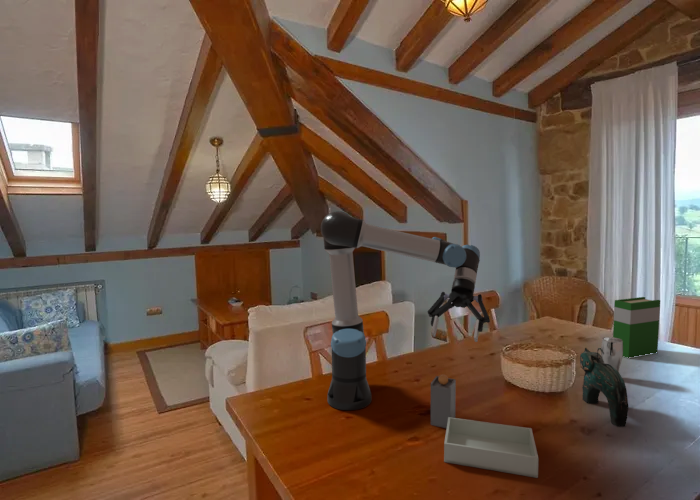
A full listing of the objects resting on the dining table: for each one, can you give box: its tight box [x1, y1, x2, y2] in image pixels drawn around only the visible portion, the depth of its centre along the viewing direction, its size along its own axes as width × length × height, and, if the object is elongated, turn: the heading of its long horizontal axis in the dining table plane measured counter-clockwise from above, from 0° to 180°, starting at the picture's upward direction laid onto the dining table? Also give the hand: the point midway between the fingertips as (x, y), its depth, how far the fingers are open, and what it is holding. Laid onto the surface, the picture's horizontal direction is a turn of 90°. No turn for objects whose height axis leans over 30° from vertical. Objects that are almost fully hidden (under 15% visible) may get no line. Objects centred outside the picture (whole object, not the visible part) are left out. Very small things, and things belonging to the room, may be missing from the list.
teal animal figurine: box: [579, 347, 629, 427], centre depth 127 cm, size 20×6×20 cm, turn 178°
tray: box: [443, 417, 539, 479], centre depth 107 cm, size 22×14×5 cm, turn 72°
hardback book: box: [612, 296, 661, 359], centre depth 178 cm, size 18×7×24 cm, turn 109°
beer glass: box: [600, 336, 624, 374], centre depth 153 cm, size 7×7×15 cm
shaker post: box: [430, 375, 457, 429], centre depth 123 cm, size 6×6×13 cm
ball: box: [438, 374, 449, 385], centre depth 122 cm, size 3×3×3 cm
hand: (453, 337), depth 130 cm, fingers open, 13 cm apart
